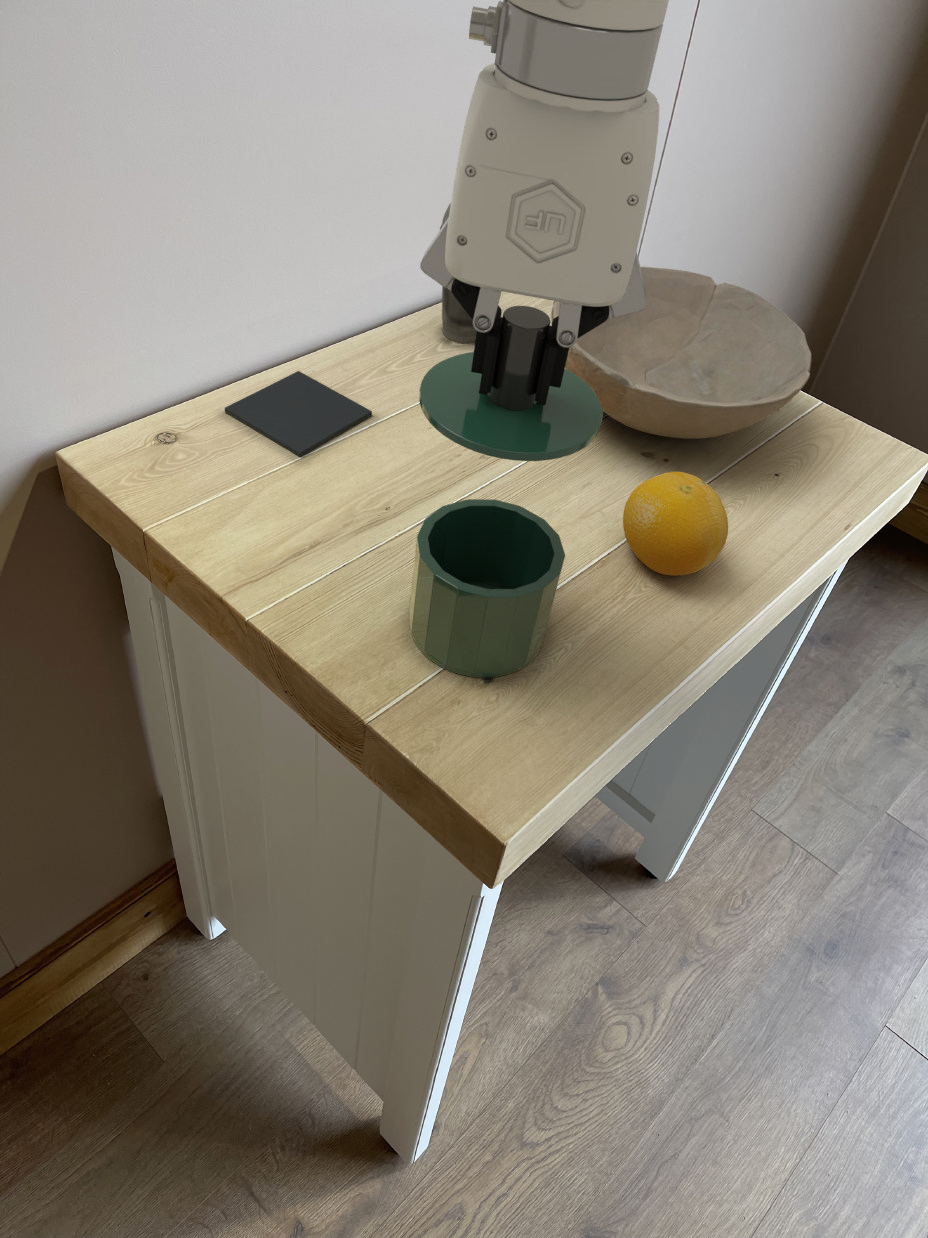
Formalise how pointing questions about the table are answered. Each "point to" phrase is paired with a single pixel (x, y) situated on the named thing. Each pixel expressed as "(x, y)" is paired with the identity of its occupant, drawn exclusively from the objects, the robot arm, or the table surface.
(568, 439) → the lid
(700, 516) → the fruit
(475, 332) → the beverage cup
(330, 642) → the table surface
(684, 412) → the bowl
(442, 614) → the pot
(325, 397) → the mat
